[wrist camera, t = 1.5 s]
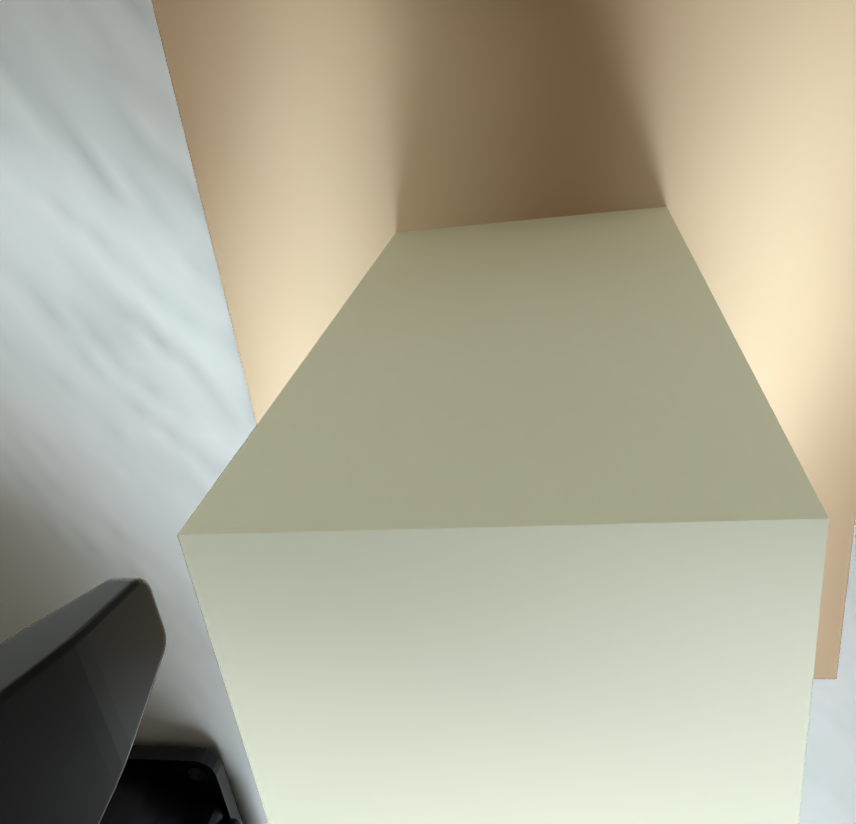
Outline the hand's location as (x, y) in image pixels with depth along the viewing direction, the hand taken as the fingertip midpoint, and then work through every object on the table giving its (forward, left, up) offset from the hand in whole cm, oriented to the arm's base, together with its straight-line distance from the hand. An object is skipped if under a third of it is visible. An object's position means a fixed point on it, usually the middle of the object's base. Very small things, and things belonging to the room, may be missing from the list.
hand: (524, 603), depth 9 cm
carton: (0, 0, -5) cm, 5 cm away
